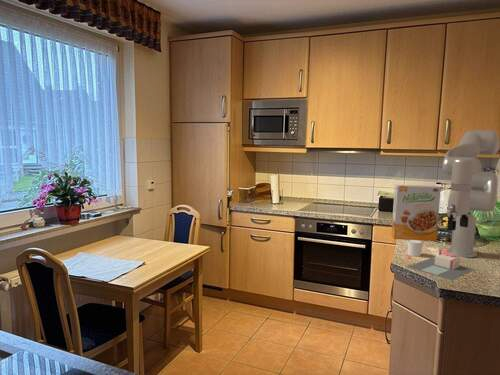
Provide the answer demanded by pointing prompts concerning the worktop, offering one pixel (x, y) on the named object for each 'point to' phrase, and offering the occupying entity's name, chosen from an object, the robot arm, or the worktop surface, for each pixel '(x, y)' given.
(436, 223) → the cereal box
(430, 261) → the mat
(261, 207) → the worktop surface
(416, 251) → the white cup
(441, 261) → the card box
